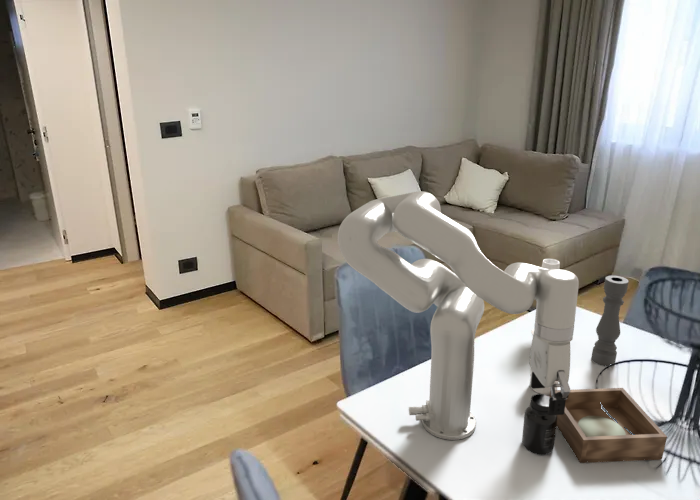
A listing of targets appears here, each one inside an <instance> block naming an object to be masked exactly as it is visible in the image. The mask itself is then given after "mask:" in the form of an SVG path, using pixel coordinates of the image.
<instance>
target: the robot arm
mask: <svg viewBox="0 0 700 500" xmlns="http://www.w3.org/2000/svg"><path fill="white" fill-rule="evenodd" d="M441 209H442V208H441V204H440V201H439V200H438V199H437V198H436V196H434V195H433V194H432V193H431V192H428V191H419V190H418V191H412V192H408V193H401V194H397V195H392V196H391V195H390V196H386V197H381V198H380V197H379V198H377V199H372V200H370V201H368V202H367V203H364V204H363V205H361V206H360V207H358V208H357V209H355V210H353V211H352V212H350V213H349V214H348V215H347V216H346V217H345V218H344V219H343V220H342V222H341V223H340V225H339V228H338V232H337V245H338V250H339V252H340V255H341V257H342V258H343V260H344V261H345V262H346V263H347V264H348V266H350V267H351V268H352V269H353V270H355V271H356V272H357V273H359V274H360V275H362V276H363V277H365V278H366V279H367V280H369V281H370V282H371V283H373V284H375V286H376V287H378V289H380V290H381V291H383V292H384V293H385V294H386V295H388V296H389V297H391V298H392V299H393V300H394V301H396V302H397V303H398V304H399V305H401V306H402V307H404V308H405V309H407V310H408V311H410V312H412V313H417V314H420V313H424V312H425V311H427V310H428V309H430V308H431V306H432V305H433V304H434V306H436V307H437V308H436V310H435V312H434V313H433V316H432V319H431V321H430V330H429V332H430V340H431V341H430V342H431V352H430V353H431V355H430V357H431V359H430V376H429V377H430V380H429V382H430V383H429V398H428V399H429V400H426V401H425V404H422V405H421V406H409V407H408V415H409V416H415V421H421V425H422V426H423V428H424V429H425V430H426V431H427V432H428V433H430V434H431V435H432V436H434V437H437V438H440V439H444V440H450V441H451V440H452V441H454V440H455V441H457V440H462V439H465V438H468V437H469V436H471V435H472V434H473V433H474V431H475V430H476V428H477V427H476V426H477V421H476V418H475V415H474V414H473V413H472V412H471V404H472V390H473V378H474V366H475V365H474V364H475V338H476V334H477V329H478V327H479V325H480V321H481V319H482V317H483V315H484V312H485V302H486V303H487V304H488V305H489V304H490V305H491V306H492V307H494V308H496V309H497V310H499V311H501V312H504V313H507V314H509V315H510V314H511V315H519V314H523V313H525V312H527V311H528V310H529V309H530V308H531V307H532V306H533V304H534V301H536V306H535V307H536V308H535V319H534V328H533V329H534V335H533V334H532V340H531V345H530V352H529V353H530V354H529V365H528V366H529V367H530V368H531V369H532V371H533V372H532V378H531V377H530V378H531V387H532V388H533V389H535V388H545V387H546V388H548V387H550V391H551V397H550V398H549V408H548V414H549V415H563V414H564V411H565V402H566V400H567V398H568V396H569V393H570V390H571V387H570V385H569V380H570V371H571V370H570V369H571V342H572V341H573V339H574V330H575V321H576V313H577V312H576V311H577V303H578V295H579V287H580V286H579V285H580V281H579V278H578V276H577V275H576V274H575V273H573V272H572V271H569V270H566V269H546V268H542V266H538V265H535V264H530V263H526V262H522V261H521V262H514V263H513V262H512V263H511V264H509V265H508V266H507V267H506V268H505V269H504V270H502V269H501V268H499V267H498V266H496V265H495V264H494V263H493V262H491V260H489V259H488V258H487V257H486V256H485V255H484V253H483V252H482V250H481V249H480V247H479V245H478V243H477V240H476V238H475V236H474V234H473V233H472V231H471V230H470V229H469V228H467V227H466V226H463V225H462V224H460V223H458V222H456V220H453V218H452V219H451V218H450V217H448V216H447V215H445V214H443V213H442V210H441ZM393 232H397V233H398V234H400V235H401V236H402V237H404V238H406V239H407V240H409V241H410V242H412V243H413V244H415V245H416V246H418V247H420V248H421V249H423V250H424V251H426V252H427V253H429V254H431V255H432V256H434V257H435V258H437V259H439V260H440V261H441V262H443V263H445V264H446V265H448V266H449V267H450V269H451V270H450V269H449V268H448V267H447V266H445V265H444V264H443V263H441V262H439V261H436V260H434V259H431V258H421V259H417V260H415V261H414V262H412V263H410V262H409V261H407V260H405V259H404V258H403V257H401V256H400V254H398V253H397V252H395V251H393V250H392V249H389V248H387V247H383V246H381V245H380V244H379V243H378V241H379V240H380V239H382V237H384V236H385V235H386V234H388V233H393ZM555 381H559V383H558V384H554V382H555ZM531 387H530V388H531ZM555 387H557V388H560V389H559V390H560V392H558V393H555ZM532 388H531V389H532Z"/></svg>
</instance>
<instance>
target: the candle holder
mask: <svg viewBox="0 0 700 500" xmlns="http://www.w3.org/2000/svg"><path fill="white" fill-rule="evenodd" d="M628 287H629V279H627V278H626V277H623V276H620V275H608V276H605V278H604V283H603V291H604V294H605V296H604V297H603V298H602V301H603V303H604V308H603V313H602V315H601V317H600V319H599V321H598V324H597V327H596V328H595V333H596V334H597V340H596V341H595V342H594V346H592V347H593V348H592V351H591V352H592V353H591V358H590V359H591V361H592V362H593V363H595V364H597V365H598V366H601V367H610V366H609V365H610V364H614V363H615V364H616V359H617V356H618V355H617V354H618V352H617V345H616V344H615V342H616V340H619V337H620V335H621V326H620V325H621V324H620V310H621V306H623V305H624V303H625V301H624V300H623V298H624V296H625V295H626V294H627V292H628ZM615 364H614V365H615Z"/></svg>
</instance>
